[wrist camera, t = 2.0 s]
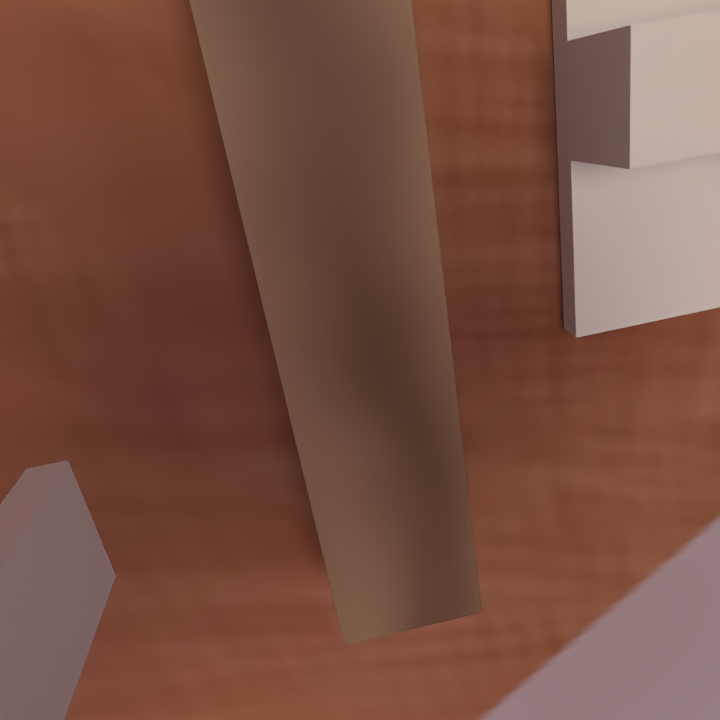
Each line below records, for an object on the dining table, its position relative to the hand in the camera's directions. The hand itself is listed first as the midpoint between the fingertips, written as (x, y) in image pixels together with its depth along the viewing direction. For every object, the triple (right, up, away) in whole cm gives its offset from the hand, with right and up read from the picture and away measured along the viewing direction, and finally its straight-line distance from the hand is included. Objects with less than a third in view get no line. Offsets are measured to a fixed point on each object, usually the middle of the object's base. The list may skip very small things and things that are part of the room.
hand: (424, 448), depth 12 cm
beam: (-2, +4, +10) cm, 11 cm away
